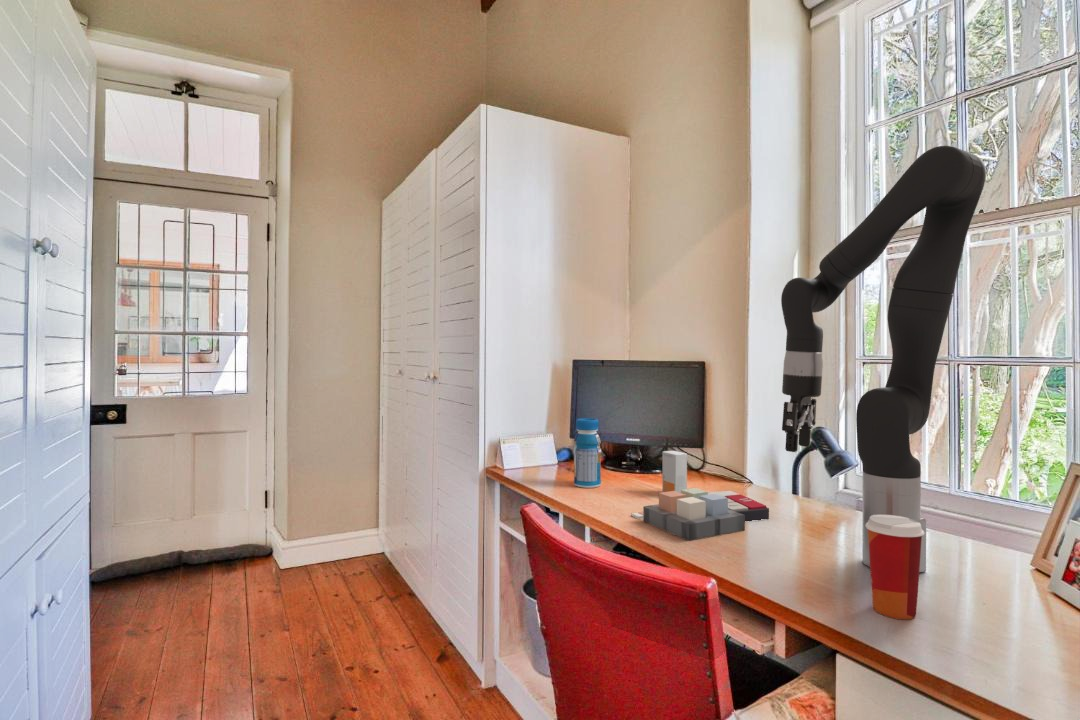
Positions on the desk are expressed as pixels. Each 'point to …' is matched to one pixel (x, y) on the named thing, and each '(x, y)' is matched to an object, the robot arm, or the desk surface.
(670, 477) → the skincare box
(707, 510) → the slate key
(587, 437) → the beverage bottle
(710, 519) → the keypad base
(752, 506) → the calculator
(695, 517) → the cream key
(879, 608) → the paper cup
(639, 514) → the strip
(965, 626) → the desk surface
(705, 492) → the sage key
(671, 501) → the terracotta key
